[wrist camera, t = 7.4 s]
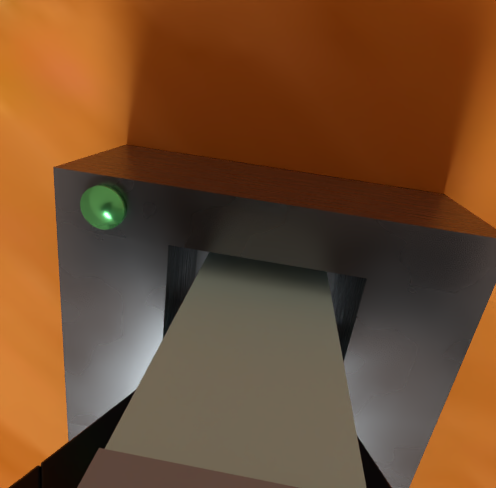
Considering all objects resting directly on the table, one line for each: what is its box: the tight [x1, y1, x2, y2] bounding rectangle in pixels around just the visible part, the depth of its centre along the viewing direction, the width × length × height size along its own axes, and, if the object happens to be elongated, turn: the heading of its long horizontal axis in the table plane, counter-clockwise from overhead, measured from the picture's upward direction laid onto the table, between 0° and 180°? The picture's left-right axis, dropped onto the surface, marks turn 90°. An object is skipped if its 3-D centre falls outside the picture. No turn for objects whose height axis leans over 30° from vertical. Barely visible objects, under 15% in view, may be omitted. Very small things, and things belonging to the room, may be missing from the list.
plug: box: [77, 252, 366, 488], centre depth 8 cm, size 3×5×8 cm
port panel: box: [53, 145, 496, 488], centre depth 13 cm, size 10×18×5 cm, turn 172°
